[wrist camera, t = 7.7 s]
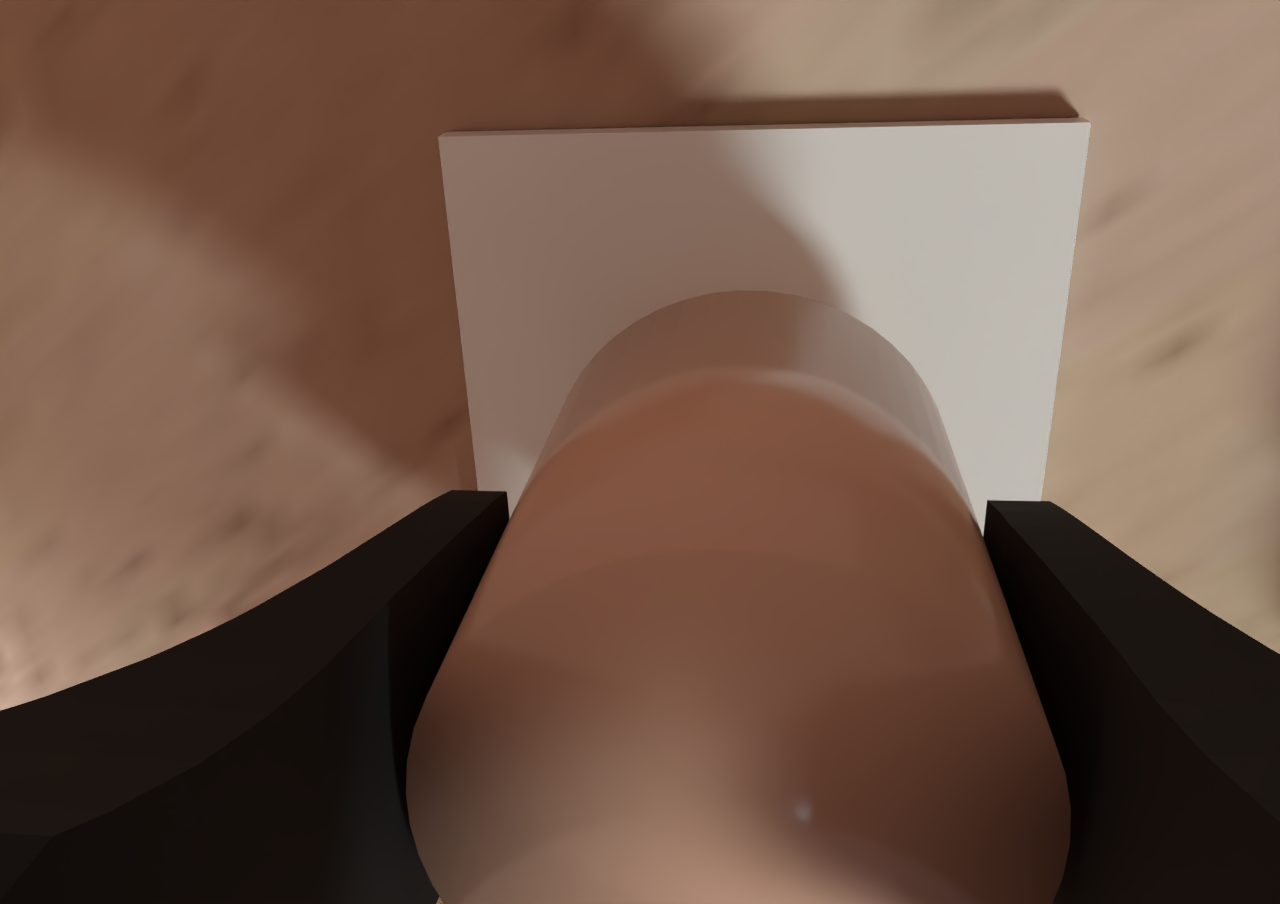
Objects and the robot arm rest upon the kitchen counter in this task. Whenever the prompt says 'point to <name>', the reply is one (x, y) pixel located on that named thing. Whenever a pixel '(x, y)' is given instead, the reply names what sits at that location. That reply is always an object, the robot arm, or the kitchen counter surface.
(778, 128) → the tile
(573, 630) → the jug
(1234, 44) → the kitchen counter surface
